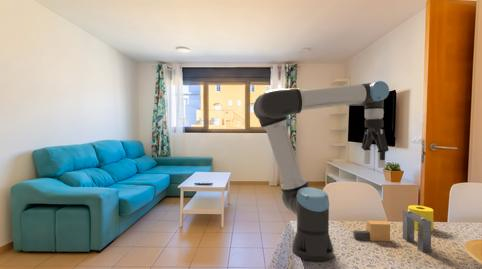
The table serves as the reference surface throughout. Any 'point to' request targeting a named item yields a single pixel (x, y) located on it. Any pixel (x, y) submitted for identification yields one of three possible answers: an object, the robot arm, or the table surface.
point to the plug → (374, 231)
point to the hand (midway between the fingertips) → (373, 165)
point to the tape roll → (422, 214)
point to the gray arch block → (423, 230)
